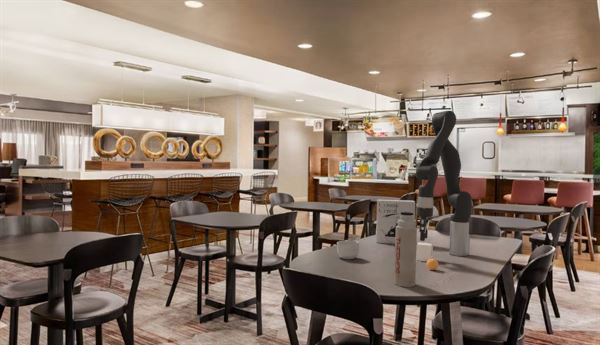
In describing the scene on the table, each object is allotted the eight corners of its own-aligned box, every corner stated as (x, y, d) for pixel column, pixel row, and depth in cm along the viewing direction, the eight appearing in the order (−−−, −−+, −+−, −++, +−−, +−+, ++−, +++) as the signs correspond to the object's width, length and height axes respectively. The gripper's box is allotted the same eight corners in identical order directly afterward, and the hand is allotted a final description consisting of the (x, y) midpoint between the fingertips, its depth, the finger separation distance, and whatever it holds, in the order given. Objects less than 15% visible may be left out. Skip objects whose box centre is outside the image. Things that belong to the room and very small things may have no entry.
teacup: (357, 261, 215) (358, 244, 215) (335, 259, 218) (335, 243, 217) (359, 255, 229) (360, 239, 229) (338, 254, 231) (338, 238, 231)
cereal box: (376, 242, 266) (377, 200, 265) (376, 240, 274) (377, 199, 273) (413, 244, 262) (415, 201, 262) (412, 242, 270) (414, 200, 269)
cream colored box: (432, 259, 224) (432, 243, 223) (430, 261, 217) (431, 245, 217) (418, 257, 226) (418, 242, 226) (416, 260, 220) (416, 244, 220)
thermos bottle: (397, 286, 172) (399, 213, 171) (391, 281, 180) (393, 210, 179) (418, 286, 173) (420, 213, 172) (411, 281, 181) (413, 211, 180)
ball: (433, 268, 204) (433, 257, 204) (440, 270, 200) (440, 259, 200) (424, 269, 202) (424, 257, 202) (431, 271, 198) (431, 260, 198)
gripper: (419, 204, 230) (418, 236, 230) (415, 206, 216) (413, 240, 217) (435, 206, 227) (433, 238, 227) (431, 208, 213) (429, 242, 214)
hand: (423, 239), depth 222 cm, fingers open, 8 cm apart
